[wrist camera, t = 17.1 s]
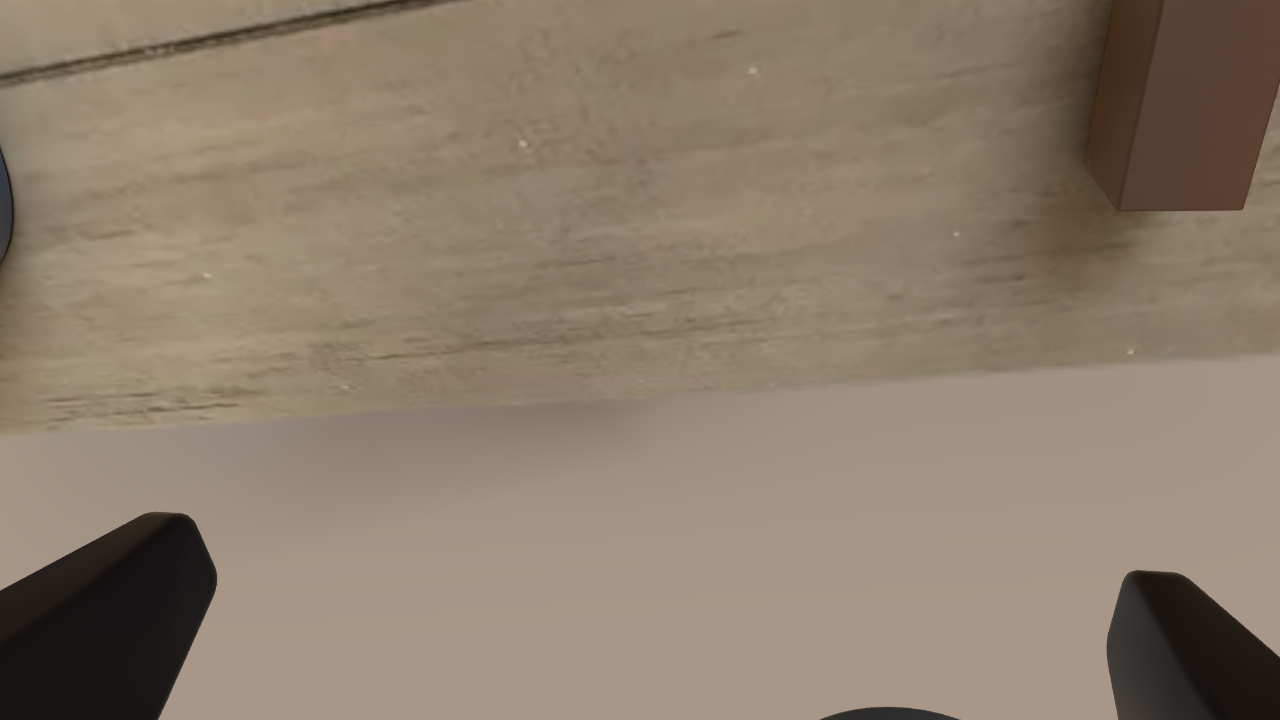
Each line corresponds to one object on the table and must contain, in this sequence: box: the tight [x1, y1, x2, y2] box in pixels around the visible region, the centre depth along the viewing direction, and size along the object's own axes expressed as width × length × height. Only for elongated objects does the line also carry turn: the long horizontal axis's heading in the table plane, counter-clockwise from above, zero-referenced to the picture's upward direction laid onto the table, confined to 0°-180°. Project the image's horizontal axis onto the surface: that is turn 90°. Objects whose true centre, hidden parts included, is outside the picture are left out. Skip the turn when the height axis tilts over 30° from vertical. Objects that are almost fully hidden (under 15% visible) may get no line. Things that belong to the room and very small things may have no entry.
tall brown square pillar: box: [1084, 0, 1280, 211], centre depth 15 cm, size 2×5×2 cm, turn 4°
